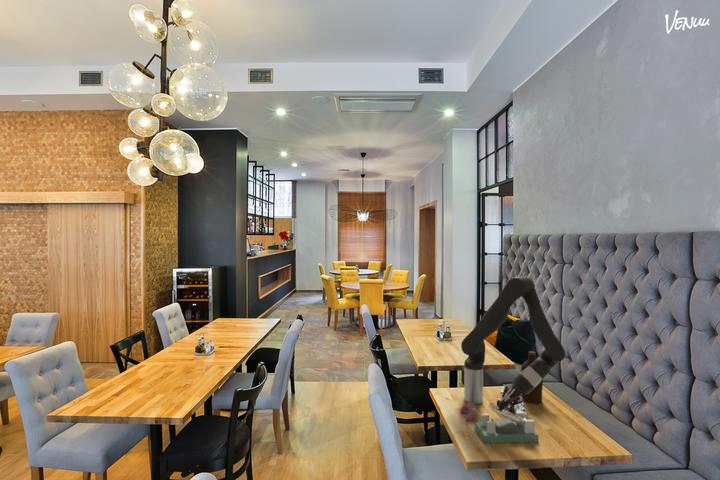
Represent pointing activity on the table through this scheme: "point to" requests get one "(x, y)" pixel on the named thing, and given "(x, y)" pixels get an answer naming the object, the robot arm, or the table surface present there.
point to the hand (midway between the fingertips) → (499, 408)
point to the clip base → (505, 436)
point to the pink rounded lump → (469, 411)
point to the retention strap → (506, 413)
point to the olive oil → (536, 393)
